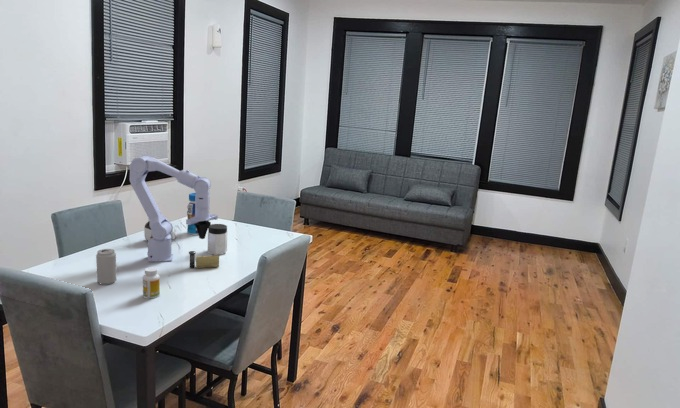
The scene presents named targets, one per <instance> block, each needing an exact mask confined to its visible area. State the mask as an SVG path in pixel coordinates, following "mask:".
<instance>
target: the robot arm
mask: <svg viewBox="0 0 680 408" xmlns="http://www.w3.org/2000/svg"><path fill="white" fill-rule="evenodd" d="M128 169H129V184H131V187H132V189H133V192H135V194H136V197H137V199H138V200H139V202H140V204H141V206H142V208H143V210H144V212H145V214H146V216H147V219H148V218H149V220H150V228H151V235H152V237H153V238H151V239H148V241H147V252H146V253H147V254H146V255H147V262H149V263H150V262H172V261H173V255H174V254H173V253H172V240H171V235H170V233H171V232H172V230H173V229H174V226H173V223H172V222H170V221H169V220H168V219H167V217H166V216H165V215H164V214H162V212H161V210H160V207H159V206H158V204H157V202H156V200H155V198H154V196H153V193H152V192H151V190H150V189H149V187H148V185H147V182H146V177H147V175H148V173H149V172H156V171H157V172H160V173H162V174H166V175H168V176H171V177H173V178H174V179H175V178H176V180H177V183H179V184H181V185H183V186H186V187H188V188H190V189H192V190H194V193H196V196H195V217H193V218H190V219H188V218H187V219H185V224H186V225H187V226H188V225H191V224H194V225H195V227H196V229H197V231H198V234H199V235H198V238H199V239H201V240H204V239H206V235H207V233H208V228H209V226H210V225H212V224H211V221H213V220H218V218H219V217H218V216H219V215H218V214H210V206H211V205H210V189H211V186H212V181H211V180H210V179H209V178H207V177H206V176H203V177H202V176H201V175H199V174H198V175H197V174H195V173H192V172H191V171H190V170H189V169H181V170H179V169H177V168H175V167H174V166H172V165H170V164H167V163H166V162H163V161H161V160H159V159H158V158H156V157H153V156H150V155H149V154H144V155H141V156H139V157H134V158H133V159H132V160H131V162H130V164H129V166H128ZM173 231H174V230H173Z"/></svg>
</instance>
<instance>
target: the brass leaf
mask: <svg viewBox="0 0 680 408" xmlns="http://www.w3.org/2000/svg"><path fill="white" fill-rule="evenodd" d="M215 267H216V268H217V267H220V254H218V255H214V254H211V255H201V256H195V268H196V269H201V268H204V269H205V268H215Z"/></svg>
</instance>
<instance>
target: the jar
mask: <svg viewBox="0 0 680 408" xmlns="http://www.w3.org/2000/svg"><path fill="white" fill-rule="evenodd" d="M227 251H228V225H226V224H223V223H212V224H211V225H210V226H209V228H208V230H207V253H208V254H211V255H214V256H216V255H222V254H223V255H225V254H226V252H227Z"/></svg>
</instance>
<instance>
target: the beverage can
mask: <svg viewBox="0 0 680 408" xmlns="http://www.w3.org/2000/svg"><path fill="white" fill-rule="evenodd" d="M116 255H117V253H116V252H115V249H112V248H103V249H99V250H98V251H97V253H96V255H95V256H96V257H95V258H96V278H97V279H96V281H97V283H99V284H100V283H101V284H100V285H103V284H108V285H112V284H114V283H115V282H117V256H116ZM113 282H114V283H113ZM111 283H112V284H111Z"/></svg>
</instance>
